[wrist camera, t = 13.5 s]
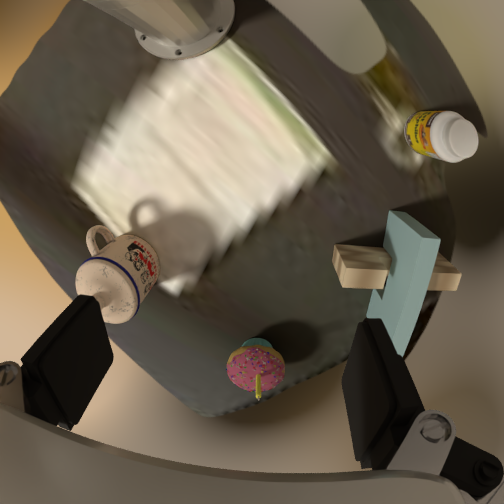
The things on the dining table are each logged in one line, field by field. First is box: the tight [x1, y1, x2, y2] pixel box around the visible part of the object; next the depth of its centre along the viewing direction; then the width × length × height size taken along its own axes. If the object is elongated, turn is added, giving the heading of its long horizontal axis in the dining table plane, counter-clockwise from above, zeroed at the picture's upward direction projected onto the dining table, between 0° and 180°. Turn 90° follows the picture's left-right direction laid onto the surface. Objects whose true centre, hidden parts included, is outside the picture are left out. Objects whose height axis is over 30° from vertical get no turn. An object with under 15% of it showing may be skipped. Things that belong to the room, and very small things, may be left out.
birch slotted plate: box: [332, 244, 462, 291], centre depth 35 cm, size 16×2×7 cm, turn 88°
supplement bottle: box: [404, 111, 478, 162], centre depth 27 cm, size 6×6×10 cm
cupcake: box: [226, 338, 285, 400], centre depth 40 cm, size 9×8×12 cm
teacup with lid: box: [76, 225, 160, 324], centre depth 36 cm, size 12×9×12 cm
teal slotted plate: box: [366, 210, 441, 357], centre depth 35 cm, size 16×2×10 cm, turn 178°
